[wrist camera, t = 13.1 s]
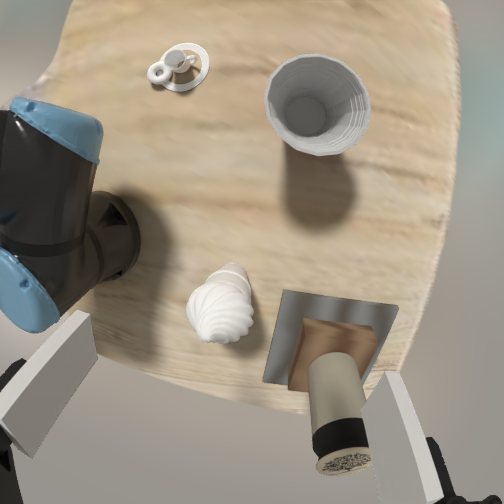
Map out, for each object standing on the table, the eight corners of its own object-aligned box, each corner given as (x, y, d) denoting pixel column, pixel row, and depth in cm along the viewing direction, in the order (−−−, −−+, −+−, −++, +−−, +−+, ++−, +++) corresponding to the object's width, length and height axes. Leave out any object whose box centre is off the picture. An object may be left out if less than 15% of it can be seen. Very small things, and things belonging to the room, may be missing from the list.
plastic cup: (356, 141, 36) (387, 141, 25) (283, 163, 38) (286, 170, 27) (330, 70, 33) (350, 42, 21) (256, 91, 35) (247, 69, 23)
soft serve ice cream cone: (253, 245, 42) (240, 300, 28) (265, 294, 45) (258, 363, 30) (200, 255, 44) (163, 310, 29) (214, 302, 46) (188, 369, 32)
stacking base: (262, 378, 52) (260, 401, 46) (283, 289, 45) (283, 309, 39) (359, 387, 51) (364, 408, 46) (397, 305, 44) (409, 324, 38)
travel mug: (305, 354, 41) (312, 455, 25) (356, 346, 40) (384, 442, 24) (308, 388, 44) (314, 480, 27) (355, 381, 43) (374, 470, 26)
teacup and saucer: (147, 87, 36) (135, 83, 32) (162, 41, 33) (152, 33, 29) (201, 96, 36) (193, 91, 32) (217, 47, 33) (211, 38, 29)
